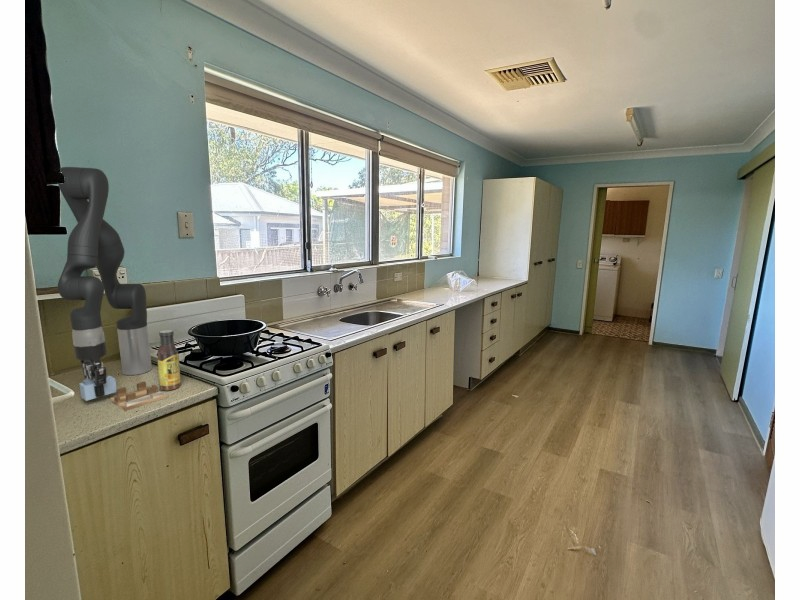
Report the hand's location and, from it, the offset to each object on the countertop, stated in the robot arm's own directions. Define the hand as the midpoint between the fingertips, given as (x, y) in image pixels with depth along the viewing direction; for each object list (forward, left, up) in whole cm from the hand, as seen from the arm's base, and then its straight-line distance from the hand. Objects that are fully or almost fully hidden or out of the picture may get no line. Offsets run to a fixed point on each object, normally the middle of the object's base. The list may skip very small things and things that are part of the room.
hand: (97, 393), depth 121 cm
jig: (+7, +8, -2) cm, 11 cm away
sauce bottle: (+7, +18, -3) cm, 20 cm away
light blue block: (0, +1, 0) cm, 1 cm away
